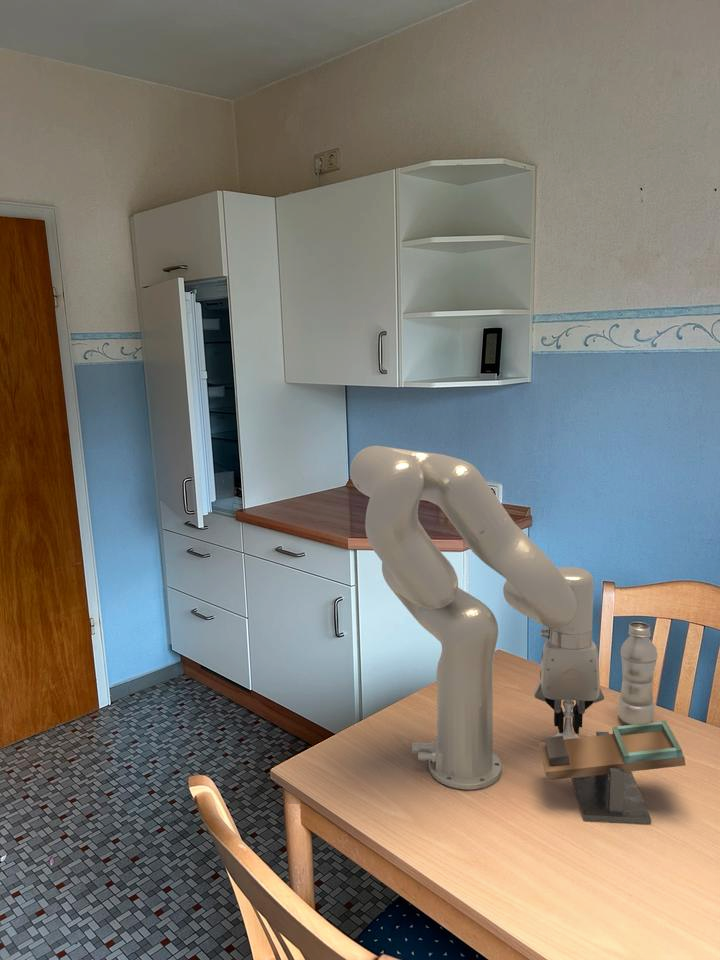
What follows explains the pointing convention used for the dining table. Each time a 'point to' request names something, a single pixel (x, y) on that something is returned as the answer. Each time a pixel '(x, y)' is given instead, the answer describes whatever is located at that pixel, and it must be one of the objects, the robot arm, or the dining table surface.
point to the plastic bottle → (637, 676)
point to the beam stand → (611, 797)
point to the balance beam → (612, 751)
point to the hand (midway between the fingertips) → (567, 729)
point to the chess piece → (568, 721)
